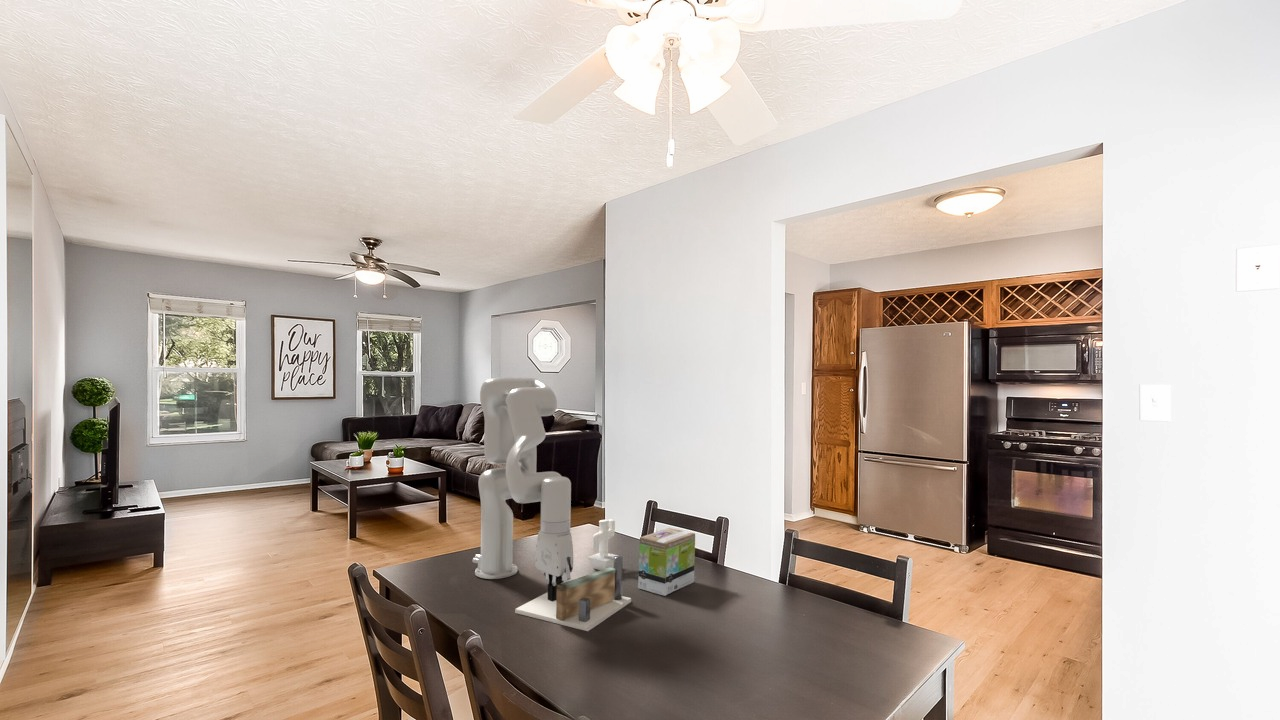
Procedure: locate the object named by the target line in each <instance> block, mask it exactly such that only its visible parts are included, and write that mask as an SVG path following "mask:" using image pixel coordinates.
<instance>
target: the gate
mask: <svg viewBox="0 0 1280 720" xmlns="http://www.w3.org/2000/svg"><path fill="white" fill-rule="evenodd" d="M614 594H615V569H614V568H611V567H609V568H606V569H604V570H598V571H595V572H592V573H589V574H586V575H583V576H581V577H580V576H579V577H577V578H574V579H572V580H571V579H570V580H567V581H565V582H563V583H562V584H559V585H557V596H556V619H558V620H561V621H563V620H565V619H566V618H569V617H571V616H574V615H576V614H579V599H581V598H583V597H585V598H590V609H591V608H594V607H596V606H599V605H601V604H604V603H607V602H609V601H612V600H614Z"/></svg>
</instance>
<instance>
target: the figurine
mask: <svg viewBox="0 0 1280 720" xmlns="http://www.w3.org/2000/svg"><path fill="white" fill-rule="evenodd" d="M598 525H599V527H598V528H599V531H598V532H596V533H594V534H593V536H592V551H593V552H596V553H595V554H592V555H590V556H587V559H588V561H589V563H590V565H591V566H592V568H593V569H594V570H598V571H601V570H604V569H606V568H609V567H611V568H613V563H614V556H620V555H619V554H613V553H609V539H612V538H613V537H614V536H615V532H616V530H615V528H616V527H615V526H616V521H615V519H601V520H599V521H598Z"/></svg>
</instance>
